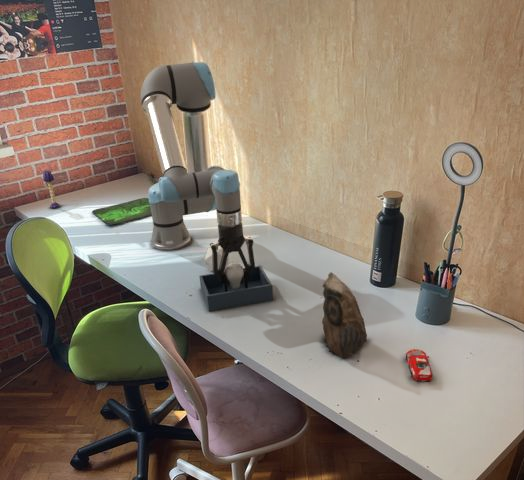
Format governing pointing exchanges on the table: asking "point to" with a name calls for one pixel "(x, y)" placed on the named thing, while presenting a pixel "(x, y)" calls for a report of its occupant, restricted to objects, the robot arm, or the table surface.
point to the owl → (342, 319)
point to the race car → (419, 366)
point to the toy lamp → (50, 188)
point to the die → (219, 254)
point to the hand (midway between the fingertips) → (235, 289)
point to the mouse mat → (124, 212)
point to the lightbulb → (234, 275)
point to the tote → (254, 293)
